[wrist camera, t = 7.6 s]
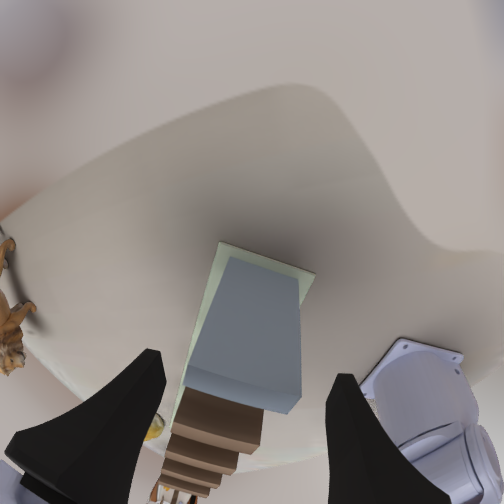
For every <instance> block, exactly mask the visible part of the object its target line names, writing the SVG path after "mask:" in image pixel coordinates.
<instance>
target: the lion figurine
mask: <svg viewBox="0 0 504 504" xmlns="http://www.w3.org/2000/svg"><path fill="white" fill-rule="evenodd" d="M7 248H8V249H9V251H13V250H14V249H15V243H14V241H13V240H11V239H9V240H6V241H4V242H3V243H2V244H1V246H0V276H1V274H2V270H3V268H4V269H7V268H8V263H7V261H6V260H5V259H4V257H5V252H6V249H7ZM29 310H30V311H31V312H33V313H34V312H35V311H36V306H35V305H34V304H33V303H31V302H27V303H25V304H24V305H23V304H22V303H19V304H17V305H15V306H14V307H13V308H11V309H10V308H9V305H8V302H7V299H6V297H5V295H4V293H3V292H2V291H1V289H0V373H2V374H4V375H5V374H6V375H7V376H9V374H10V373H11V372H12V371H13V370H14V369H15V368H16V367H20V368H22V367H24V365H25V362H24V360H25V358H26V353H24V352H23V344H22V340H21V339H22V337H23V333H22V330H21V328H20V326H19V325H20V324H21V323H22V321H23V319H24V318H25V316H26V314H27V312H28V311H29Z"/></svg>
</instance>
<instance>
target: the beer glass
mask: <svg viewBox="0 0 504 504" xmlns="http://www.w3.org/2000/svg"><path fill="white" fill-rule="evenodd" d="M160 476H161V475H160ZM159 479H160V477H159ZM159 479H158V480H157V482H156V484H155V486H154V487H153V489H152V491H151V493H150V495H149V498H148V500H147V503H146V504H197V499H198V496H195V495H191V494H188V493H184V492H181V491H177V490H174V489H171V488H168V487H165V486H162V485H159V484H158V483H159Z"/></svg>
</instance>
